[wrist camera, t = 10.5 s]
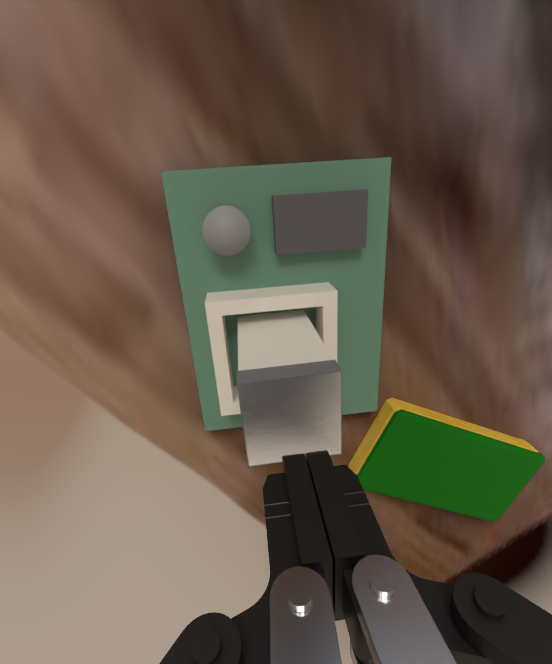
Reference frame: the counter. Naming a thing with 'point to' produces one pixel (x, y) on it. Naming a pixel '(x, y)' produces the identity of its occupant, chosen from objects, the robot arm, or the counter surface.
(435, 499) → the dish sponge
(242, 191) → the board
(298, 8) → the counter surface
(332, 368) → the plug
